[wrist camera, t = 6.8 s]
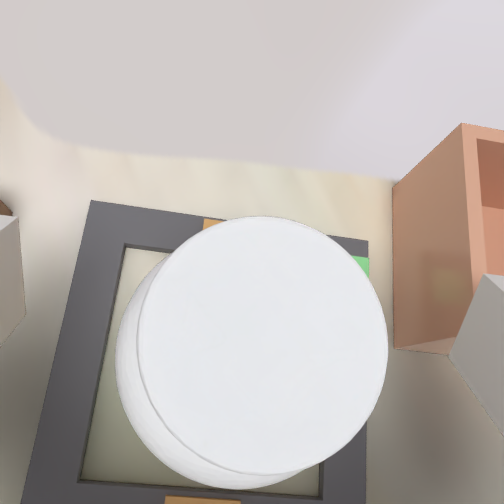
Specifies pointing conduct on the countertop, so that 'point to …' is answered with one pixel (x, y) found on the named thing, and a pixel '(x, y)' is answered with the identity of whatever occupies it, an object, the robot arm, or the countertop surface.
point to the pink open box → (446, 236)
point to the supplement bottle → (251, 353)
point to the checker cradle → (90, 365)
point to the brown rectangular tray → (4, 209)
